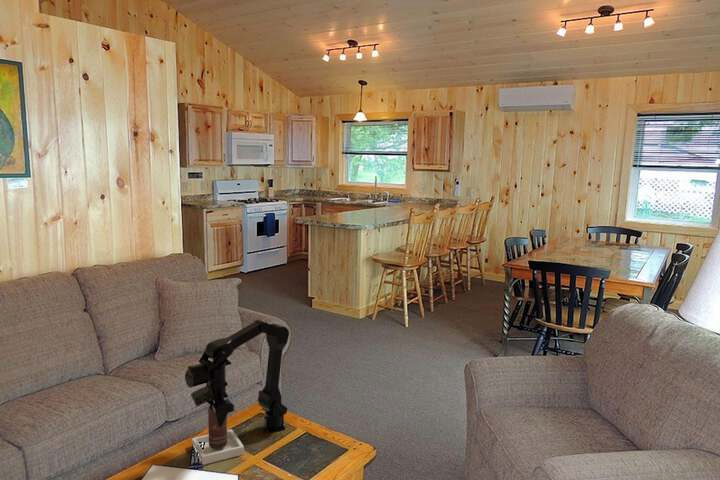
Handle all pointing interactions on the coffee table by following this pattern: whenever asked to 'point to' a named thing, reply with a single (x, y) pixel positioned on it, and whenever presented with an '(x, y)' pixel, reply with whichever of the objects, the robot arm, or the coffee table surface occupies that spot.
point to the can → (216, 431)
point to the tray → (214, 455)
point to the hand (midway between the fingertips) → (217, 422)
